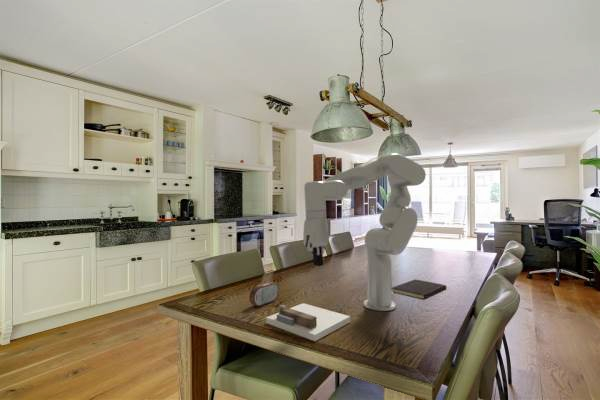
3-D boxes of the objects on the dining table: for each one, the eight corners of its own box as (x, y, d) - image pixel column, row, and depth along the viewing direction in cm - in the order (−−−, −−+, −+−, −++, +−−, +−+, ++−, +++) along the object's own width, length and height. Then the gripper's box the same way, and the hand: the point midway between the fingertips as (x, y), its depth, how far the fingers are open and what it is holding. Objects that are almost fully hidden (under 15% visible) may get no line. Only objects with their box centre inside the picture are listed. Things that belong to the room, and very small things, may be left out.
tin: (274, 298, 139) (274, 279, 139) (280, 299, 137) (279, 280, 137) (248, 307, 127) (248, 286, 127) (254, 309, 125) (254, 288, 125)
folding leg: (276, 316, 111) (276, 306, 111) (282, 314, 113) (282, 304, 113) (310, 329, 100) (310, 317, 100) (316, 326, 102) (316, 315, 102)
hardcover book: (391, 292, 148) (391, 287, 148) (415, 283, 164) (415, 279, 164) (424, 300, 136) (424, 295, 136) (446, 289, 152) (446, 285, 152)
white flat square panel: (303, 308, 126) (303, 298, 126) (350, 322, 111) (350, 310, 111) (266, 323, 111) (266, 311, 111) (315, 341, 96) (315, 328, 96)
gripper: (320, 213, 123) (322, 260, 123) (294, 217, 111) (297, 268, 112) (336, 213, 118) (338, 262, 118) (311, 217, 106) (313, 271, 107)
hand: (318, 265), depth 115 cm, fingers closed
